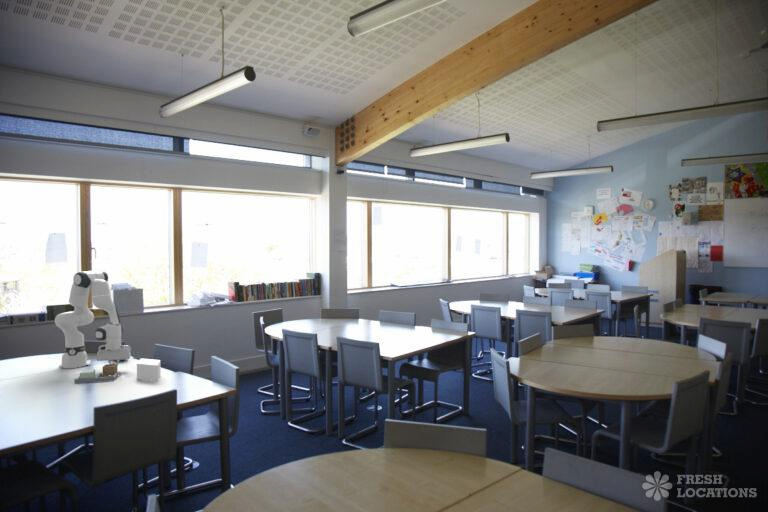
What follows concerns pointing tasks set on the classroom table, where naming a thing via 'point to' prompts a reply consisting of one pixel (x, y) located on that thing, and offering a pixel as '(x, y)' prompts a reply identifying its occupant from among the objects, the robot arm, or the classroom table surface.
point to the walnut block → (109, 369)
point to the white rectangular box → (148, 369)
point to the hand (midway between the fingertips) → (113, 366)
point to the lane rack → (96, 378)
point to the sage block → (87, 374)
